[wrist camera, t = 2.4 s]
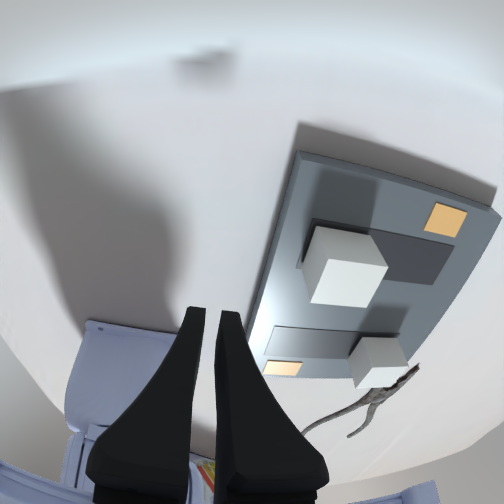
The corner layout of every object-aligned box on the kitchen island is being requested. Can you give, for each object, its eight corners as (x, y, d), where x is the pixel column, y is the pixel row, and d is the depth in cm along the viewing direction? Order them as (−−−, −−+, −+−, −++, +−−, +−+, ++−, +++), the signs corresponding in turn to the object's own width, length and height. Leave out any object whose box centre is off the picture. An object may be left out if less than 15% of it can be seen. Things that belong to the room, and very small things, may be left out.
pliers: (295, 443, 41) (345, 370, 29) (295, 438, 41) (343, 363, 30) (355, 438, 42) (423, 365, 30) (354, 433, 43) (420, 359, 31)
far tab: (347, 359, 26) (355, 388, 23) (362, 337, 24) (372, 367, 22) (381, 359, 26) (390, 386, 24) (397, 337, 24) (408, 366, 22)
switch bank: (238, 360, 28) (238, 375, 27) (297, 150, 17) (302, 160, 16) (390, 365, 30) (395, 377, 29) (491, 207, 19) (503, 218, 18)
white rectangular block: (301, 267, 20) (310, 302, 17) (316, 226, 18) (328, 258, 15) (352, 274, 20) (366, 307, 18) (370, 235, 18) (388, 267, 16)
